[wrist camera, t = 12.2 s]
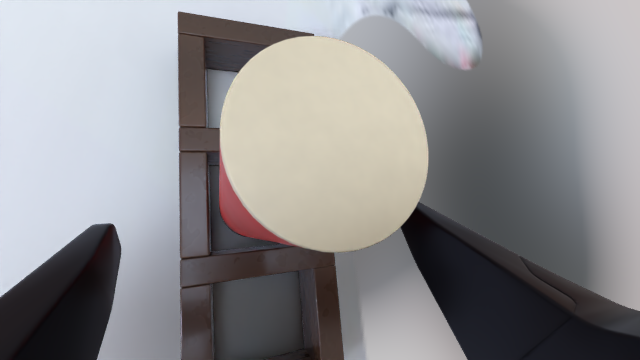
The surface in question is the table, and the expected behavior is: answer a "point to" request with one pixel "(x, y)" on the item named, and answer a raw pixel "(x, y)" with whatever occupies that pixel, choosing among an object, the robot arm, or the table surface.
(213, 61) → the brown wooden rack
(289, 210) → the red cylinder
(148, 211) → the table surface
